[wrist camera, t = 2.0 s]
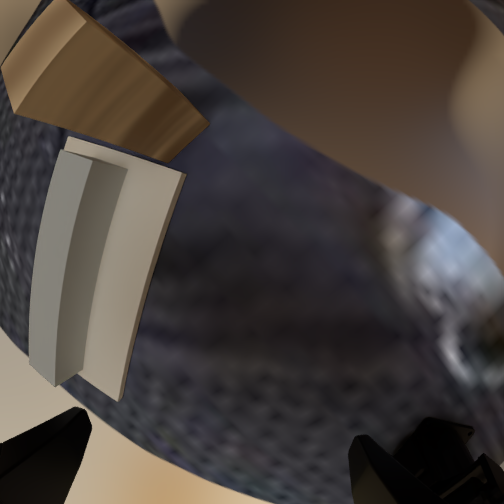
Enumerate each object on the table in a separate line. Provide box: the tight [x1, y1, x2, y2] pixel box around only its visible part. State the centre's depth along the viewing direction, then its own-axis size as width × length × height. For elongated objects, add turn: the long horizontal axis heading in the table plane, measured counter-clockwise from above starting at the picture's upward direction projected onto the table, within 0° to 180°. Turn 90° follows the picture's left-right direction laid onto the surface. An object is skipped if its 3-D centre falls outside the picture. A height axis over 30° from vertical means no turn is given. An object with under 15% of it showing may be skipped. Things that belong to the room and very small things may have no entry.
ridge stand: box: [29, 136, 187, 402], centre depth 19 cm, size 12×20×5 cm, turn 159°
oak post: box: [1, 0, 210, 163], centre depth 13 cm, size 4×4×13 cm
